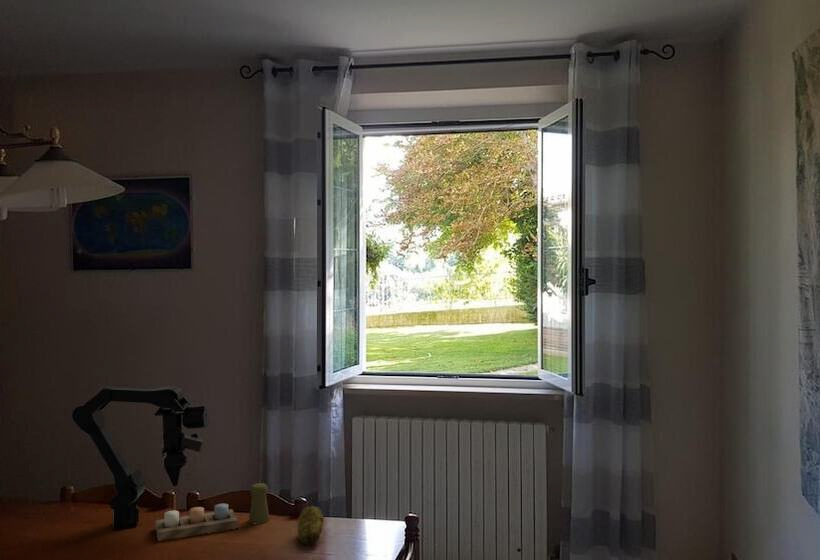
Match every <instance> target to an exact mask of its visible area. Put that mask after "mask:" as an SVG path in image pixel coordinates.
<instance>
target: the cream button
mask: <svg viewBox="0 0 820 560" xmlns="http://www.w3.org/2000/svg"><path fill="white" fill-rule="evenodd" d="M179 517H180V511H179V510H168V511H165V512H164V515H163V519H164V528H169V527H175V526H179Z"/></svg>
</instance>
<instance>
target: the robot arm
mask: <svg viewBox="0 0 820 560" xmlns="http://www.w3.org/2000/svg"><path fill="white" fill-rule="evenodd" d="M111 402H118V403H120V402H121V403H122V402H123V403H136V404H137V403H141V404H142V403H143V404H150V405H153V406H154V407H158V409H157V411H155V412H154V413H153V415H154V417H158V416H159V417H160V416H161V430H162V432H161V436H162V444H161V445H160V450H161V457H162V462H163V463H162V464H163V468H164V469H165V470H164V471H166V474H167V475H168V478H169V480H170V482H171V484H172V486H173V487H177V486H178V484H179V479H180V473H181V469H182V468H183V467H184V466H186V464H187V455H186V453H185V451H186V449H187V450H190V451H191V450H192V451H195V452H197V453H200V452H201V449H202V447H203V444H204V440H203V439H202V438H201V437H199V435H198V433H196V432H191V433H190V435H186V434H185V433H184V430H183V428H186V429H187V430H188V429H189V430H190V429H207V428H208V427H209V422H210V415H209V411H208V408H207V405H206V404H201V405H192V404H191V403H190V402H189V400H188V399H187V398H186V397H185V395H184V391H183V390H182V388H180V386H177V385H170V386H162V387H158V388H139V387H137V388H136V387H116V386H112V385H111V386H106V387H105V388H102V389H101V390H99V392H98V393H97V394H96V395H93V397H92V398H90V399H89V400H88V401H87V402H85V403H84V404H83V403H82V404H80V405H78V406H76V407H75V408H74V409H73V411H72V413H71V420H72V421H73V422H74V424H75V425H76V426H77V427H78V428H79V429H80V430H81V431H82V432H84V434H87V435H88V436H89V437H90V439H91V441H92V442H93V444H94V446H95V447H96V449H97V451H98V452H99V455H100V456H101V458H102V459H103V461H104V463H105V465H106V466H107V468H108V469H109V471H110V473H111V474H112V476H113V481H114V490H115V491H116V495H115V496H114V497H113V498H112V499H111V500H109V502H108V505H109V507H110V509H111V510H112V511H113V513H112V514H113V521H112V529H113V530H114V531H115V530H123V529H129V528H130V529H131V528H135V527H138V523H139V522H140V518H139V517H140V516H139V514H140V513H139V511H140V510H139V505H137V500H139V498H140V496H141V495H142V494H143V493H144V492H145V489H146V483H145V481H146V478H145V477H144V476H143V475H142V472H141V471H140V469H139V468H136V469H135V470H133V469H132V468H131V467H130V466H129V465H128V463H127V462H126V460H125V458H124V457H123V454H122V453H121V451H120V450H119V448H118V447H117V445H116V443H115V441H114V440H113V438H112V436H111V434H110V433H109V431H108V430H107V428H106V425H105V416H104V413H103V410H104V409H105V408H106V407H107V406H108V405H109V404H110V403H111Z"/></svg>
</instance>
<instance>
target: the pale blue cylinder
mask: <svg viewBox="0 0 820 560" xmlns="http://www.w3.org/2000/svg"><path fill="white" fill-rule="evenodd" d="M213 507H214V508H213V509H214V511H213V512H214V520H221V519H228V510H229V504H228V503H218V504H215V505H214V506H213Z"/></svg>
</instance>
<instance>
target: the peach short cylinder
mask: <svg viewBox="0 0 820 560" xmlns="http://www.w3.org/2000/svg"><path fill="white" fill-rule="evenodd" d="M204 513H205V508H204V507H202V506H195V507H191V508H189V515H190V524H195V523H202V522H204Z"/></svg>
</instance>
